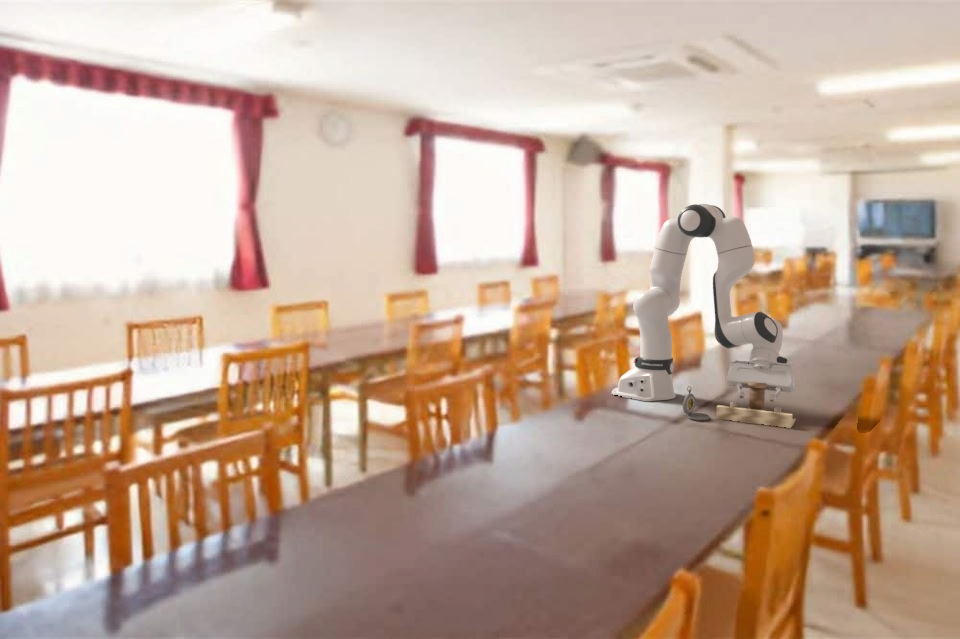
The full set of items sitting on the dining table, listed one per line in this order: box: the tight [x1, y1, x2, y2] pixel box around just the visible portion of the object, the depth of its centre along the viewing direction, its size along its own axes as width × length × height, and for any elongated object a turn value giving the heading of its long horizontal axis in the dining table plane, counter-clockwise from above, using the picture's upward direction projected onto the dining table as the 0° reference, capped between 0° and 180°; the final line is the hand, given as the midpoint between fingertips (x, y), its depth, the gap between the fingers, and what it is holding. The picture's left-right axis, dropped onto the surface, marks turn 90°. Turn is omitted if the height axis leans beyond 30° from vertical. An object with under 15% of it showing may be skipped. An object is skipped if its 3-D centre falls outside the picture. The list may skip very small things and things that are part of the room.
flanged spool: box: [748, 382, 767, 411], centre depth 223 cm, size 7×7×11 cm
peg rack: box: [715, 401, 797, 429], centre depth 222 cm, size 22×10×5 cm, turn 59°
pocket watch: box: [682, 385, 711, 422], centre depth 225 cm, size 8×8×10 cm
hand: (756, 399), depth 222 cm, fingers open, 8 cm apart
